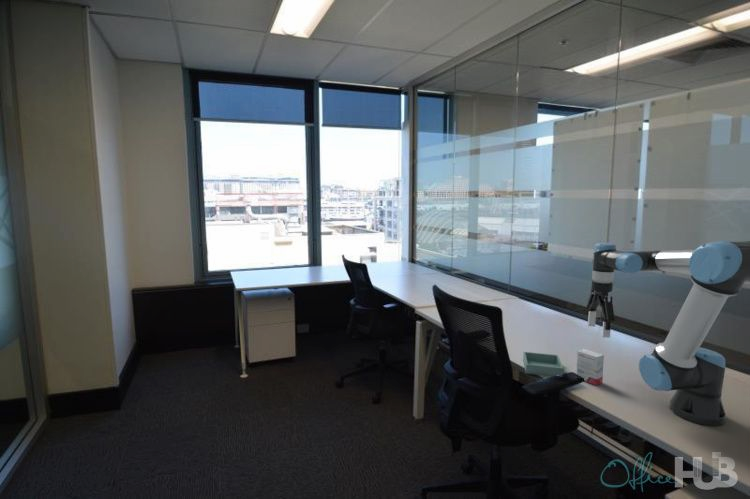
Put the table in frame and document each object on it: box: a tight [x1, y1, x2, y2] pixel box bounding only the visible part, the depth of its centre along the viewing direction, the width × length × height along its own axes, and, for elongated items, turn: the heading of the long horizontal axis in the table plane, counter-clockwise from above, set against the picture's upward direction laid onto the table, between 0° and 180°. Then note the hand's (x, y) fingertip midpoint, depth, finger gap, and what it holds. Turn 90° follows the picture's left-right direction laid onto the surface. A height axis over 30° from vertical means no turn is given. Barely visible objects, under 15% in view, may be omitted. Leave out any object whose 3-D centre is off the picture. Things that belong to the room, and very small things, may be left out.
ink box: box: [576, 348, 605, 386], centre depth 166 cm, size 9×5×12 cm, turn 33°
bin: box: [522, 351, 564, 377], centre depth 178 cm, size 14×14×4 cm
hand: (598, 331), depth 170 cm, fingers open, 13 cm apart
